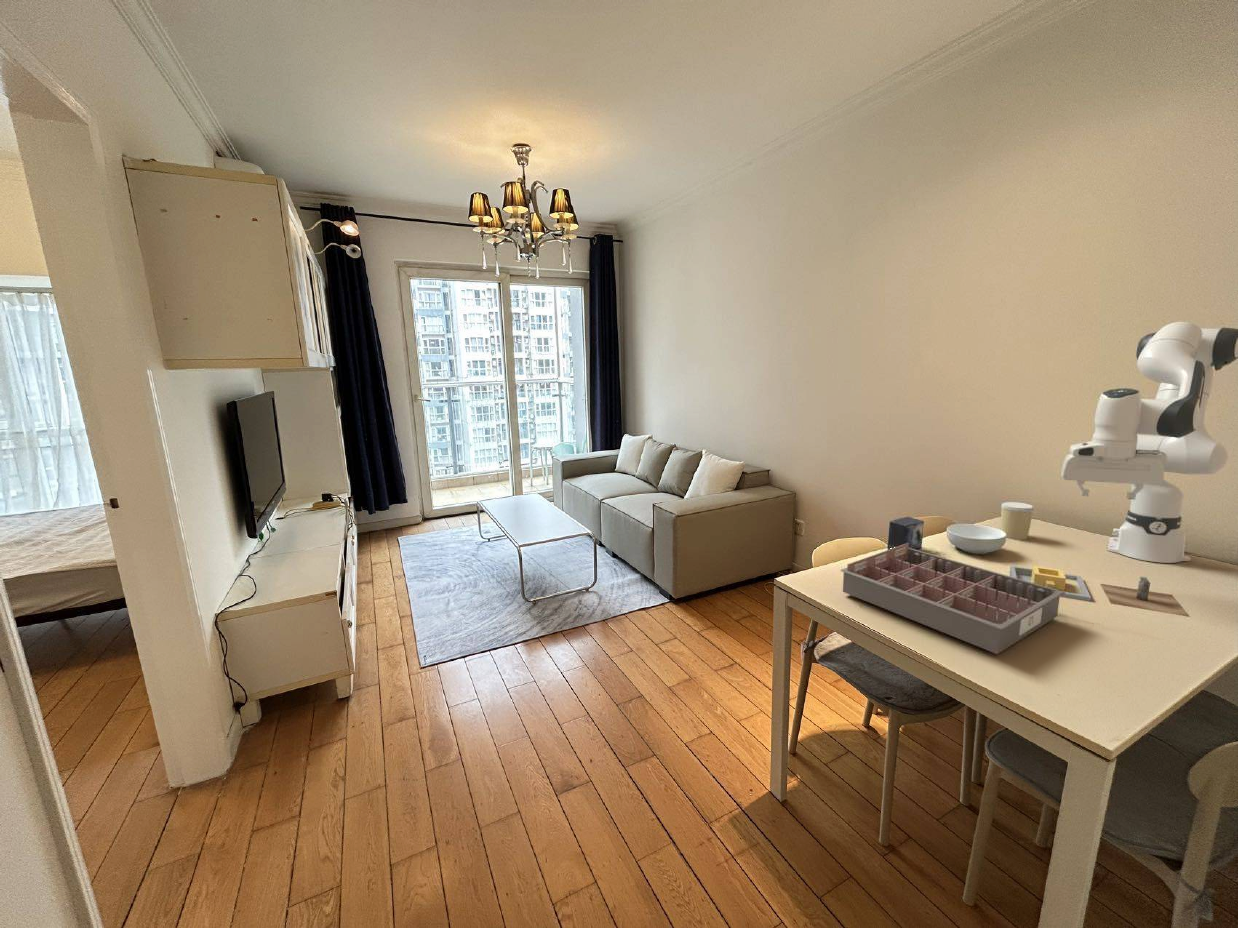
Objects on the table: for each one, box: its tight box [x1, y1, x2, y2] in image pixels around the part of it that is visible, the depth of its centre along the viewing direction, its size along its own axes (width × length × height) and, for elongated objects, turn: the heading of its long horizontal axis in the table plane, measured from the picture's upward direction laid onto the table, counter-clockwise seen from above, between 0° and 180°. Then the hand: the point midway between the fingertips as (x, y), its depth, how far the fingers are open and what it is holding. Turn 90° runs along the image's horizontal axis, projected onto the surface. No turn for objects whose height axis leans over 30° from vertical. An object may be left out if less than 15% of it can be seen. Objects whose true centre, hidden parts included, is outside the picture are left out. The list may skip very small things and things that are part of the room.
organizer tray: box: [839, 543, 1066, 655], centre depth 133 cm, size 32×40×10 cm
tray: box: [1009, 565, 1092, 602], centre depth 142 cm, size 16×16×2 cm
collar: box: [1031, 565, 1067, 592], centre depth 140 cm, size 10×7×4 cm
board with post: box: [1099, 576, 1191, 618], centre depth 130 cm, size 14×14×7 cm
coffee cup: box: [1000, 501, 1035, 541], centre depth 183 cm, size 9×9×12 cm
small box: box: [886, 516, 925, 551], centre depth 175 cm, size 11×6×10 cm, turn 117°
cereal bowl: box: [946, 523, 1007, 555], centre depth 172 cm, size 17×17×7 cm
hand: (1107, 497), depth 140 cm, fingers open, 8 cm apart
